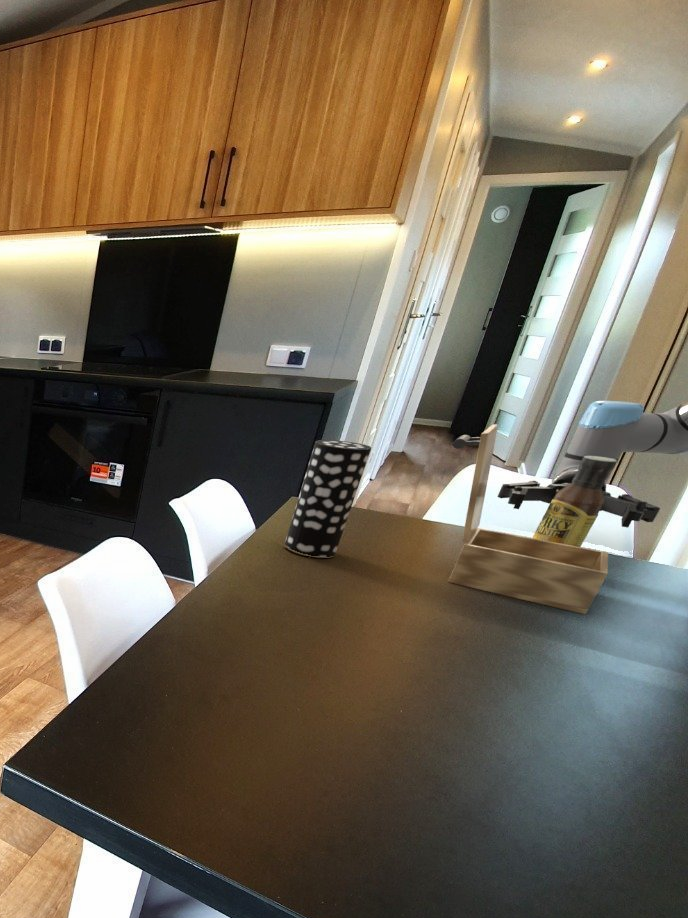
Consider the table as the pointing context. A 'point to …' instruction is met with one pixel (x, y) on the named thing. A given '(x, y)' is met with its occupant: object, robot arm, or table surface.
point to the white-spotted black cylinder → (326, 497)
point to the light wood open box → (531, 569)
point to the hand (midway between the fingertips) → (571, 510)
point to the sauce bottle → (576, 504)
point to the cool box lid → (478, 476)
